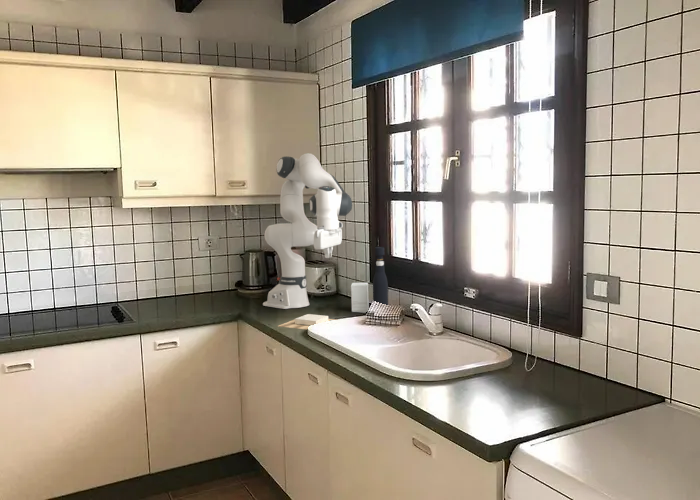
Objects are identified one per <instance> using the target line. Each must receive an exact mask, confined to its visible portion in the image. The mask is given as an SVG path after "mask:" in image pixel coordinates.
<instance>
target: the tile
mask: <svg viewBox="0 0 700 500" xmlns="http://www.w3.org/2000/svg"><path fill="white" fill-rule="evenodd" d="M328 319H329V315H322V314H321V315H320V314H311V313H307V314H304V315H302V316H298V317H296V318H294V320H295V324H300V325H309V326H310V325H314V324H318V323H322V322H326V321H328Z"/></svg>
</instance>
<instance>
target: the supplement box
mask: <svg viewBox="0 0 700 500" xmlns="http://www.w3.org/2000/svg"><path fill="white" fill-rule="evenodd" d="M350 292H351V293H350V295H351V297H350V298H351V303H350V304H351V312H352V313H364V314H367V313H366V312H367V311H368V312H369V310H368V309H369V308H370V307H369V305H370V304H369V283H368V282H352V283H351V285H350Z"/></svg>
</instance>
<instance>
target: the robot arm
mask: <svg viewBox="0 0 700 500" xmlns="http://www.w3.org/2000/svg"><path fill="white" fill-rule="evenodd" d="M276 174H277V175H278V176H279V177H280V178H283V179H286V180H285V181H284V182H283V183H282V185H281V189H280V190H281V191H280V200H279V201H280V205H279V206H280V209H279V210H280V212H279V213H280V216H281V217H282V218H283V219H284V220H285V221H286V222H287V223H286V222H285V223H275V224H270V225H268V226H267V227H266V229H265V231H264V240H265V242H266V244H267V245H269V246H270V247H271V248H272V249H273V250H274V251H275V252H276V253H277V255H278V257H279V260H280V267H281V268H280V269H281V275H280V276H279V277H276V279H277V281H278V284H276V285H275V286H274V287H273V288H272V289H270V291H268V294H267V300H266V301H264V302H263V303H262V306H265V307H270V308H276V309H283V310H284V309H285V310H287V309H298V308H304V307H308V306H310V302H309V301H310V300H309V297H308V293H307V275H306V261H305V259H304V257H303V256H302V255H300V254H298V253H296V252H294V251H293V250H292V248H293V247H309V246H313V248H314V250H322V251H323V253H324V258H326V259H330V258H332V256H333V255H332V254H333V250H334V247H335V246H338V245H341V244H342V242H343V241H342V240H343V230H342V228H343V227H344V226H343V222H341V221H340V220H339V218H338V216H340V217H341V216H342V217H346V216H347V215H349V213H351V211H352V210H353V201H352V197H351V196H350V195H349V194H348V193H347V192H346V191H345V190H344V189H343V187H342V186H341V184H340V183H339V181H338V180H337V179H336V178H335V176H334V175H332V174H331V173H329V172H328V171H327V170H325V169H324V168H323V167H322V165H321V162H320V161H319V159H318V158H317V157H316V155H314V154H313V153H311V152H310V153H304V154H301V155H300V157H299V158H296V157H292V156H282V157H280V159H278V162H277V164H276ZM304 188H305V189H315V190H317V191H316V193H315V194H313V195H312V196H311V197H310V198H309V200H308V201H309V212H310V213H311V214H312V215H313V216H315V217H316V224H315V223H313V222H312V221H310V220H309V219H308V217H307V215H306V214H305V208H304V194H303V193H304Z"/></svg>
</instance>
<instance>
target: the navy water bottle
mask: <svg viewBox="0 0 700 500" xmlns="http://www.w3.org/2000/svg"><path fill="white" fill-rule="evenodd" d="M374 250H375V251H374V253H375V255H374V256H376V262H375V264H376V265H375V274H374V276H373V281H372V303H373V302H374V301H376V302H379V303H382V304H386V305H388V306H389V285H388V278H387V275H386V272H385V261H384V256H385V247H384V246H376V247H374Z"/></svg>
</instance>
